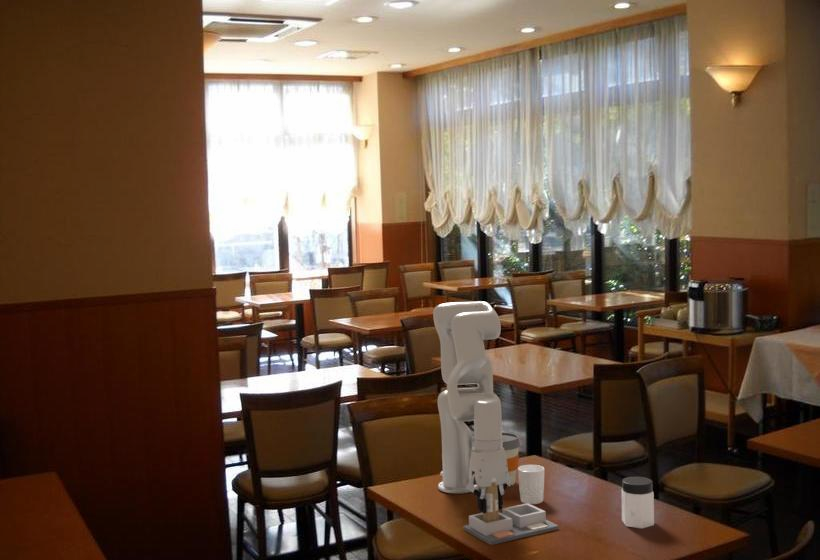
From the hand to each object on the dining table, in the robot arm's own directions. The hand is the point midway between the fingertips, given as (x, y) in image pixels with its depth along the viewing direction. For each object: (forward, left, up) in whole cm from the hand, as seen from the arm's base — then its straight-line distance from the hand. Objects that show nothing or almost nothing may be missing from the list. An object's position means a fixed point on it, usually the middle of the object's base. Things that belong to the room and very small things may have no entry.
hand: (490, 509), depth 256 cm
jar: (+16, +38, -6) cm, 41 cm away
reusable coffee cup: (-36, +27, -6) cm, 45 cm away
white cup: (-16, +25, -6) cm, 30 cm away
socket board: (+1, +6, -6) cm, 8 cm away
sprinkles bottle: (0, 0, -4) cm, 4 cm away
